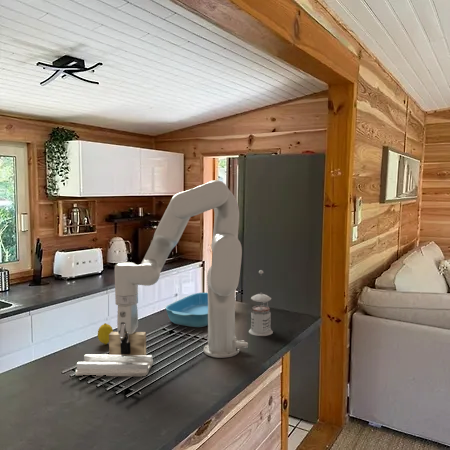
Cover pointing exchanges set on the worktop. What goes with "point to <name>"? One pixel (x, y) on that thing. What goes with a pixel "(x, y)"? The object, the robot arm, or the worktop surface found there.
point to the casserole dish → (190, 310)
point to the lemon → (104, 333)
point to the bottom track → (114, 365)
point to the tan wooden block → (135, 340)
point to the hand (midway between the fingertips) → (127, 350)
